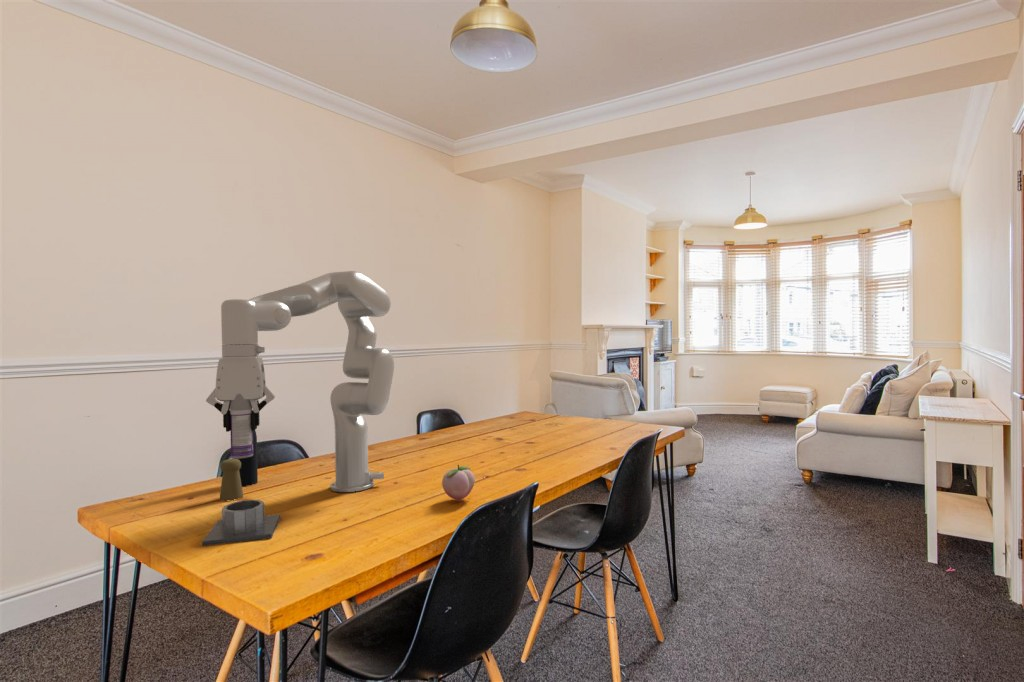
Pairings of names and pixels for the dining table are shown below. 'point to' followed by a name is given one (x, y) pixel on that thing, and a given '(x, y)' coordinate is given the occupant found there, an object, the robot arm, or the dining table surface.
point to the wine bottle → (249, 466)
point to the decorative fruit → (458, 482)
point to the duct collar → (242, 523)
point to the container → (241, 428)
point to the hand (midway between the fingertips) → (241, 429)
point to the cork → (231, 480)
